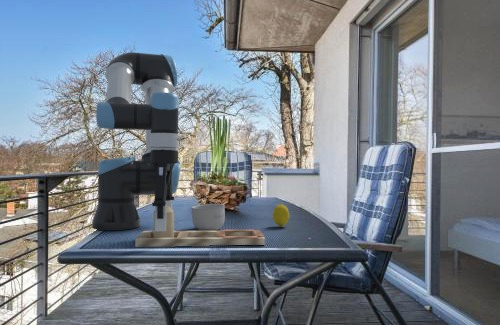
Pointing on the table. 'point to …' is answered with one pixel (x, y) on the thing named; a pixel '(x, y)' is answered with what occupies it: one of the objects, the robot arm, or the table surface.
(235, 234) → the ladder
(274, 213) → the lemon
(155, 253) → the table surface
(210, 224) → the teacup
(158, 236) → the candle
